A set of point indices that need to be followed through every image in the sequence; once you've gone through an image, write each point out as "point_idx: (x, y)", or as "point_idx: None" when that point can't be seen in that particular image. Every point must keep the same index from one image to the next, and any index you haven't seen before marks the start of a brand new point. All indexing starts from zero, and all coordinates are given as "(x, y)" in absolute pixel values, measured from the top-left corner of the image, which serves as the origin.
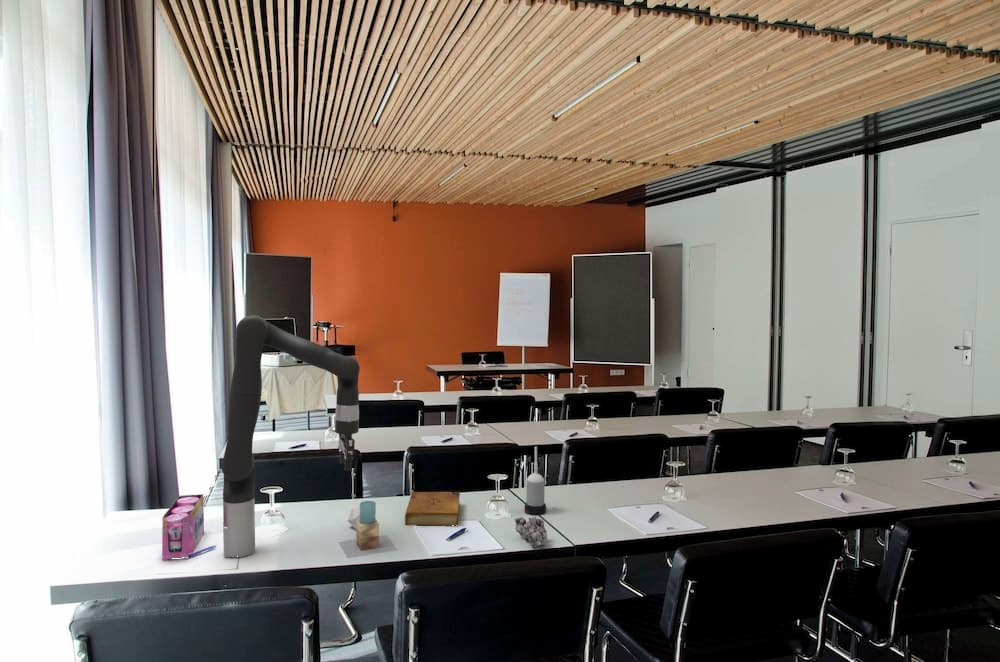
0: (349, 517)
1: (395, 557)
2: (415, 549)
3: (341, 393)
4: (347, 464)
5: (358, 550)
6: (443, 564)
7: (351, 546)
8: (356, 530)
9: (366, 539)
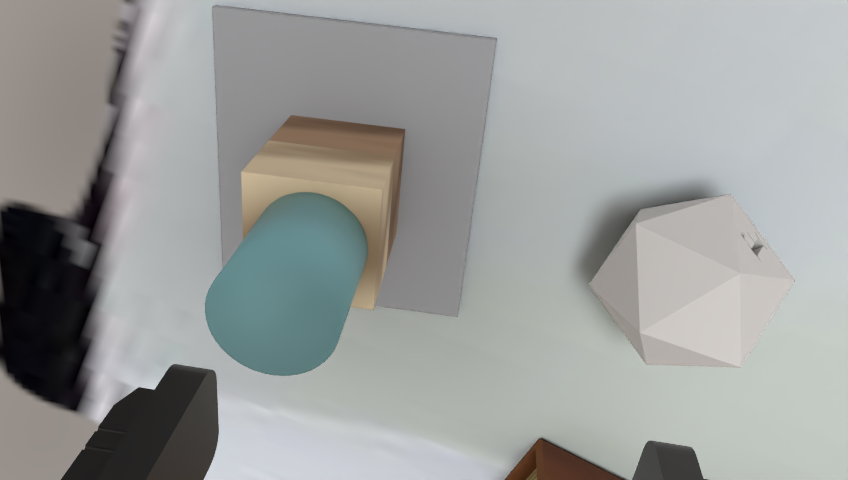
0: (719, 215)
1: (153, 242)
2: (218, 355)
3: None
4: (78, 463)
5: (299, 104)
6: (9, 377)
7: (380, 89)
8: (390, 160)
9: None
